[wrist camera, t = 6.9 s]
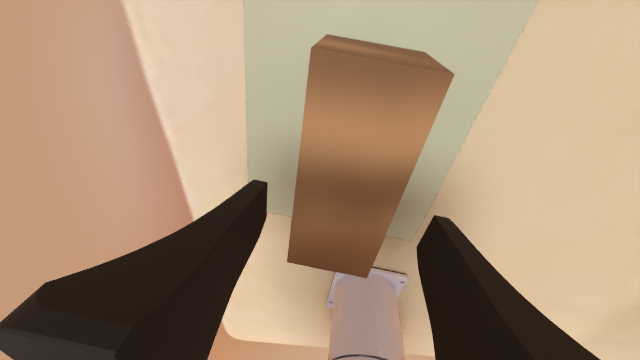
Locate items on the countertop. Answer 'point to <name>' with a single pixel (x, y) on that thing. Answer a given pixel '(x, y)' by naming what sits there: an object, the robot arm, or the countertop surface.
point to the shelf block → (359, 147)
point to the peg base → (384, 28)
